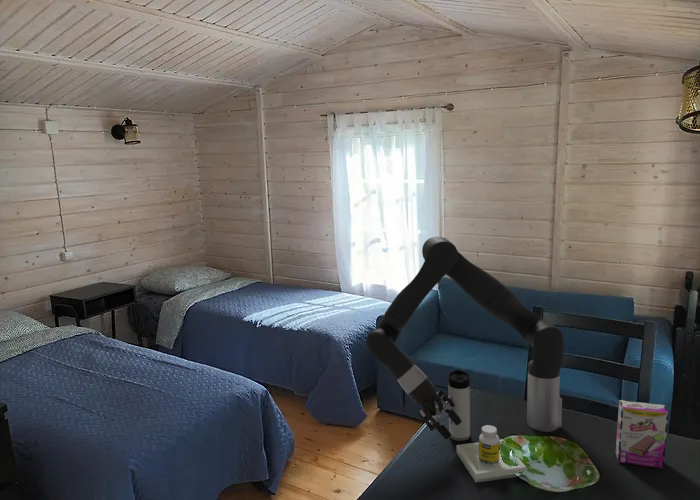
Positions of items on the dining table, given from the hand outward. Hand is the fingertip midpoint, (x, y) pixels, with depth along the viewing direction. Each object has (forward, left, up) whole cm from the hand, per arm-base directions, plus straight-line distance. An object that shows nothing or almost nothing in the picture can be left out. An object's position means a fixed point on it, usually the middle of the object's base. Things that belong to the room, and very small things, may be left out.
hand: (454, 430), depth 146 cm
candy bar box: (-47, +14, -8) cm, 50 cm away
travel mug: (-5, -10, -8) cm, 13 cm away
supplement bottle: (-8, +6, -7) cm, 12 cm away
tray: (-8, +6, -8) cm, 13 cm away
